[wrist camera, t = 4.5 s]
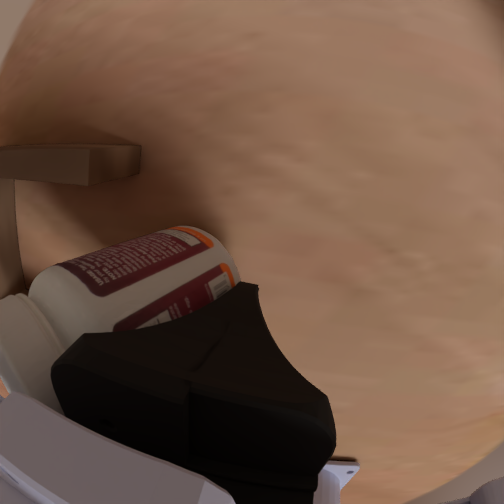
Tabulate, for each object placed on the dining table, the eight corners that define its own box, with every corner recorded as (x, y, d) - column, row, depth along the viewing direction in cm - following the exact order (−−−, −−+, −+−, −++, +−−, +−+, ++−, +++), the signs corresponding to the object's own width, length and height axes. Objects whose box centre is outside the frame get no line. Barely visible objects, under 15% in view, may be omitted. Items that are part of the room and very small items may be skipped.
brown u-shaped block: (140, 348, 15) (110, 389, 12) (19, 299, 16) (-14, 323, 13) (141, 145, 11) (89, 149, 8) (4, 146, 12) (-40, 154, 9)
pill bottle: (138, 268, 14) (-21, 337, 6) (191, 199, 11) (-34, 254, 4) (199, 349, 13) (56, 462, 6) (270, 297, 11) (81, 463, 4)
